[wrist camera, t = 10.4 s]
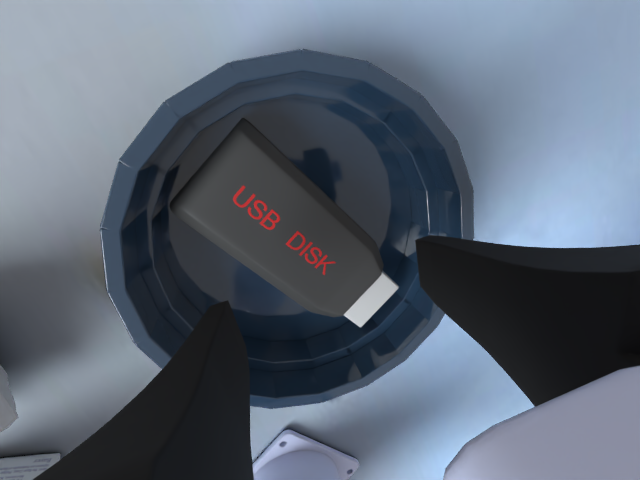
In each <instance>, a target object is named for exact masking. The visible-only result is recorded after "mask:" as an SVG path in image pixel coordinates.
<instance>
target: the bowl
mask: <svg viewBox="0 0 640 480" xmlns="http://www.w3.org/2000/svg"><path fill="white" fill-rule="evenodd" d="M242 118H245V119H246V120H248V121H249V122H250V123H251V124H252V125H253V126H255V127H256V128H257V129H258V130H259V131H260V132H261V133H262V134H263V135H264V136H265V137H266V138H267V139H268V140H269V141H270V142H272V143H273V144H274V145H275V146H276V147H277V148H278V149H279V150H280V151H281V152H282V153H283V154H284V155H285V156H286V157H287V158H288V159H289V160H290V161H292V162H293V163H294V164H295V165H296V166H297V167H298V168H299V169H300V170H301V171H302V172H303V173H304V174H305V175H306V176H307V177H308V178H309V179H310V180H312V181H313V182H314V183H315V184H316V185H317V186H318V187H319V188H320V189H321V190H322V191H323V192H324V193H325V194H326V195H327V196H328V197H329V198H330V199H332V200H333V201H334V202H335V203H336V204H337V205H338V206H339V207H340V208H341V209H342V210H343V211H344V212H345V213H346V214H347V215H348V216H349V217H350V218H352V219H353V220H354V221H355V222H356V223H357V224H358V225H359V226H360V227H361V228H362V229H363V230H364V231H365V232H366V233H367V234H368V235H369V236H370V237H371V238H372V239H373V240H374V241H375V242H376V244H377V247H378V250H379V252H380V255H381V258H382V261H383V264H384V266H383V270H382V271H383V272H385V273H386V274H387V275H388V276H389V277H390V278H391V279H392V280H393V281H394V282H395V283H396V284H397V285H398V286H399V288H398V289H397V290H396V291H395V293H394V294H393V295H392V296H391V297H390V298H389V299H388V300H387V301H386V302H385V303H384V304H383V305H382V306H381V307H380V308H379V309H378V310H377V311H376V312H375V313H374V314H373V315H372V316H371V318H370V319H369V320H368V321H367V322H366V323H365V324H364V325H363V326H362V327H359V326H357V325H356V324H355V323H353V322H352V321H351V320H349V319H348V318H347V317H345V316H344V315H343V316H339V317H330V316H326V315H321V314H317V313H313V312H310V311H308V310H307V309H305V308H304V307H303V306H301V305H300V304H298V303H297V302H295V301H294V300H293V299H291V298H290V297H288V296H287V295H286V294H284V293H283V292H281V291H280V290H279V289H277V288H276V287H274V286H273V285H272V284H270V283H269V282H267V281H266V280H265V279H263V278H262V277H260V276H259V275H258V274H256V273H255V272H253V271H252V270H250V269H249V268H248V267H246V266H245V265H243V264H242V263H241V262H239V261H238V260H236V259H235V258H234V257H232V256H231V255H229V254H228V253H227V252H225V251H224V250H222V249H221V248H220V247H218V246H217V245H215V244H214V243H213V242H211V241H210V240H208V239H207V238H205V237H204V236H203V235H201V234H200V233H198V232H197V231H196V230H194V229H193V228H191V227H190V226H189V225H187V224H186V223H185V222H183V221H182V220H181V219H179V218H178V217H177V216H176V215H175V214H174V213H173V212H172V211H171V209H170V202H171V201H172V199H173V198H174V197H175V196H176V195H177V194H178V192H179V191H180V190H181V189H182V188H183V187H184V185H185V184H186V183H187V182H188V181H189V179H190V178H191V177H192V176H193V175H194V174H195V172H196V171H197V170H198V169H199V168H200V167H201V165H202V164H203V163H204V162H205V161H206V160H207V158H208V157H209V156H210V155H211V154H212V153H213V151H214V150H215V149H216V148H217V147H218V146H219V144H220V143H221V142H222V141H223V140H224V139H225V137H226V136H227V135H228V134H229V133H230V132H231V130H232V129H233V128H234V127H235V126H236V125H237V123H238V122H239V121H240V120H241V119H242ZM100 227H101V228H100V236H101V245H102V254H103V263H104V273H105V282H106V290H107V291H108V295H109V297H110V299H111V301H112V303H113V305H114V306H115V308H116V310H117V312H118V314H119V316H120V318H121V320H122V322H123V323H124V325H125V327H126V329H127V331H128V333H129V335H130V337H131V339H132V340H133V342H134V343H135V345H136V346H137V347H138V348H139V349H140V350H142V351H143V352H144V353H145V354H146V355H147V356H148V357H149V358H150V359H152V360H153V361H154V362H155V363H156V364H157V365H158V366H159V367H160V368H162V369H163V368H164V367H165V366H166V365H167V363H168V362H169V361H170V360H171V358H172V357H173V356H174V355H175V353H176V352H177V351H178V350H179V348H180V347H181V346H182V345H183V343H184V342H185V341H186V339H187V338H188V337H189V335H190V334H191V332H192V331H193V330H194V328H195V327H196V325H197V324H198V322H199V321H200V320H201V318H202V317H203V315H204V314H205V312H206V311H207V310H208V308H209V307H210V306H211V305H215V304H218V303H221V302H224V301H227V300H228V301H229V304H230V306H231V309H232V312H233V314H234V317H235V319H236V322H237V324H238V327H239V329H240V332H241V335H242V337H243V340H244V342H245V345H246V349H247V356H248V363H249V371H250V406H254V407H262V408H269V409H273V408H283V407H292V406H300V405H308V404H316V403H321V402H325V401H328V400H331V399H333V398H336V397H339V396H341V395H344V394H347V393H349V392H352V391H355V390H357V389H360V388H363V387H365V386H368V385H369V384H371V383H372V382H374V381H375V380H377V379H378V378H380V377H381V376H383V375H384V374H386V373H387V372H389V371H390V370H392V369H393V368H395V367H396V366H398V365H399V364H401V363H402V362H404V361H405V360H406V359H407V358H408V357H409V356H410V355H411V354H412V353H413V352H414V351H415V350H416V349H417V348H418V347H419V346H420V345H421V343H422V342H423V341H424V340H425V339H426V338H427V337H428V336H429V335H430V334H431V333H432V332H433V331H434V330H435V329H436V328H437V326H438V325H439V323H440V322H441V320H442V318H443V316H444V315H445V313H444V312H443V311H442V310H441V309H440V308H439V307H438V306H437V305H436V304H435V303H434V302H433V301H432V300H431V299H430V297H429V296H428V295H427V294H426V292H425V291H424V290H423V289H422V287H421V286H420V280H419V271H418V262H417V253H416V244H415V240H417V239H420V238H423V237H426V236H429V235H436V236H446V237H453V238H460V239H466V240H473V239H474V209H473V187H472V184H471V181H470V178H469V175H468V172H467V169H466V166H465V163H464V160H463V157H462V153H461V150H460V147H459V144H458V141H457V140H456V138H455V137H454V135H453V134H452V133H451V132H450V130H449V129H448V128H447V126H446V125H445V124H444V122H443V121H442V120H441V119H440V117H439V116H438V115H437V113H436V112H435V111H434V110H433V108H432V107H431V106H430V104H429V103H428V102H427V100H426V99H425V98H424V97H423V96H422V95H421V94H420V93H419V92H417V91H415V90H414V89H412V88H411V87H409V86H407V85H406V84H404V83H402V82H401V81H399V80H398V79H396V78H394V77H393V76H391V75H390V74H388V73H386V72H385V71H383V70H382V69H380V68H378V67H377V66H375V65H373V64H372V63H369V62H368V61H364V60H359V59H353V58H348V57H343V56H338V55H332V54H327V53H322V52H317V51H312V50H306V49H302V50H300V49H299V50H293V51H287V52H282V53H276V54H271V55H265V56H260V57H254V58H248V59H243V60H237V61H232V62H231V63H227V64H225V65H223V66H222V67H220V68H218V69H217V70H215V71H213V72H212V73H210V74H208V75H207V76H205V77H203V78H202V79H200V80H198V81H197V82H195V83H193V84H192V85H190V86H189V87H187V88H185V89H184V90H182V91H180V92H179V93H177V94H175V95H174V96H172V97H170V98H169V99H167V100H166V101H165V102H163V103H162V105H161V106H160V107H159V108H158V110H157V111H156V112H155V114H154V115H153V116H152V118H151V119H150V120H149V121H148V123H147V124H146V125H145V127H144V128H143V129H142V131H141V132H140V133H139V134H138V136H137V137H136V138H135V140H134V141H133V142H132V143H131V145H130V146H129V147H128V149H127V150H126V151H125V153H124V154H123V155H122V156H121V158H120V159H119V162H118V165H117V168H116V172H115V175H114V179H113V182H112V186H111V189H110V193H109V196H108V200H107V203H106V207H105V211H104V214H103V218H102V221H101V225H100Z"/></svg>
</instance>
